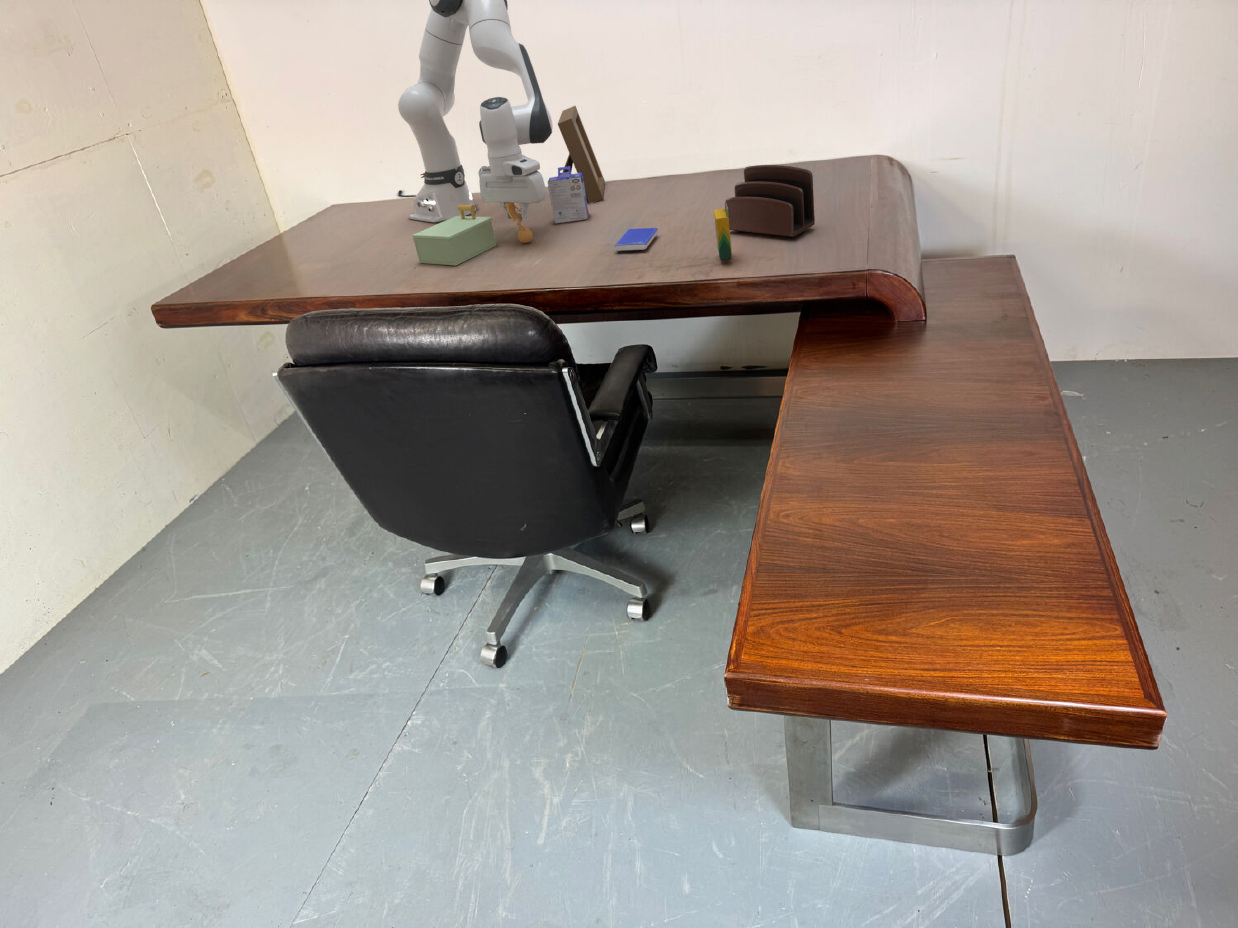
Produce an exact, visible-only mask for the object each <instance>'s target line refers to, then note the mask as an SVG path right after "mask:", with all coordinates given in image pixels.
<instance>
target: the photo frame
mask: <svg viewBox="0 0 1238 928" xmlns="http://www.w3.org/2000/svg"><path fill="white" fill-rule="evenodd" d="M557 126H558V129H559V131H560V133H561V136H562V139H563V141H564V144H565V146H566V149H567V151H568V156H567V158H566V162H565V163H564V167H568V166H570V170H571V172H572V171H573V166H574V169H575V171H576V173H582V175H583V181H584V187H585V193H586V199H587V200H588V201H587V202H588V203H589V204H592V203H593V204H594V203H596V202H599V201H601V200H603V199H604V192H605V184H606V180H605V177H604V175H603V173H602V172H603V171H602V170H601V167H600V164H599V163H598V160H597V157H596V155H595V152H594V149H593V147H592V145H591V142H590V139H589V136H588V134H587V132H586V128H585V127H584V124H583V121H582V118H581V116H580V113H579V111H578V109H577V106H576V105H573V106H571V107H567V108H565V109H563V110H562V111H561V113H560V117H559V119H558V122H557ZM568 171H569V170H566V169H564V170H562V171H561V173H563V172H568Z"/></svg>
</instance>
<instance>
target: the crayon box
mask: <svg viewBox="0 0 1238 928" xmlns="http://www.w3.org/2000/svg"><path fill="white" fill-rule="evenodd" d="M725 206H726V208H725ZM713 215H714V216H713V217H714V223H715V224H714V225H715V235H716V236H715V237H716V246H717V252H718V257H719V261H727V260H732V259H733V252H732V251H733V250H732V241H731V230H730V228H729V215H728V207H727V204H726V201H725V200H724V208H718V209H714V210H713Z"/></svg>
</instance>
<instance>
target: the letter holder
mask: <svg viewBox="0 0 1238 928" xmlns="http://www.w3.org/2000/svg"><path fill="white" fill-rule="evenodd" d="M743 180H744V181H743V182H738V183H737V182H736V184H734V187H733V189H734V196H733V197H729V198H726V199H725V200H724V202H725V201H726V204H727V207H728V215H729V228H730V231H737V232H746V233H754V234H761V235H763V234H764V235H772V236H780V237H788V238H794V237H796V236H798V235H799V234H801V233H803V232H805V231H806V230H809V229H810V228H811V227H813V226H815V223H816V222H815V221H816V218H815V217H816V216H815V198H814V197H815V196H814V195H815V194H814V175H813V172H812V171H811V170H809V169H806V168H802V167H797V166H791V165H781V164H759V165H758V164H757V165H749V166H745V167H744V169H743ZM725 208H726V206H725V205H724V209H725Z"/></svg>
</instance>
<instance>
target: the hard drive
mask: <svg viewBox="0 0 1238 928" xmlns="http://www.w3.org/2000/svg"><path fill="white" fill-rule="evenodd" d="M658 234H659V228H658V227H645V228H641V227H640V228H629V229H627V230H626V231H625V233H623V235H622V236H621V237H620V239H618V241H617V242H616V243H615V244H614V250H615V251H639V250H641V251H642V250H647V248H648V247H649V245H650V244H651V243H652V241H653V240H654V239H655V238H656V236H657V235H658Z"/></svg>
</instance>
